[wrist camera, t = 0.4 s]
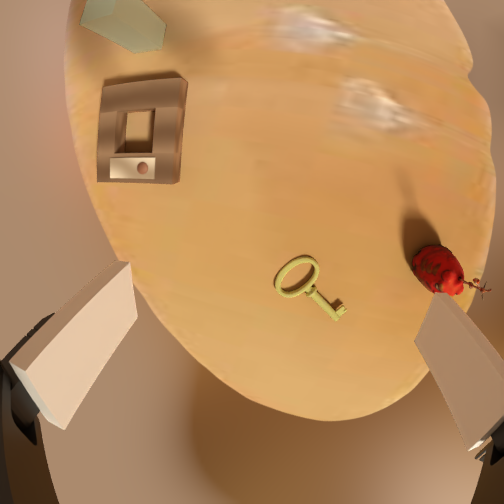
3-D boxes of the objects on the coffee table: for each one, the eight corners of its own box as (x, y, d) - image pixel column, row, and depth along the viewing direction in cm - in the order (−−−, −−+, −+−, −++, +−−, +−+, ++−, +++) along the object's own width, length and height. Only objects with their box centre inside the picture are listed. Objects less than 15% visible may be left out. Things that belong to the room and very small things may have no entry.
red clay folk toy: (401, 266, 38) (449, 321, 24) (426, 230, 35) (485, 271, 21) (428, 287, 39) (473, 340, 25) (452, 254, 36) (505, 298, 22)
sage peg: (139, 29, 27) (89, -6, 14) (166, 24, 27) (122, -17, 14) (134, 53, 29) (79, 24, 16) (161, 49, 28) (112, 13, 15)
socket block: (113, 89, 31) (101, 86, 28) (188, 82, 30) (180, 77, 27) (107, 179, 36) (95, 182, 33) (179, 181, 36) (171, 184, 32)
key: (336, 316, 42) (338, 324, 40) (269, 286, 41) (269, 293, 39) (361, 281, 39) (365, 288, 37) (292, 246, 38) (293, 251, 36)
